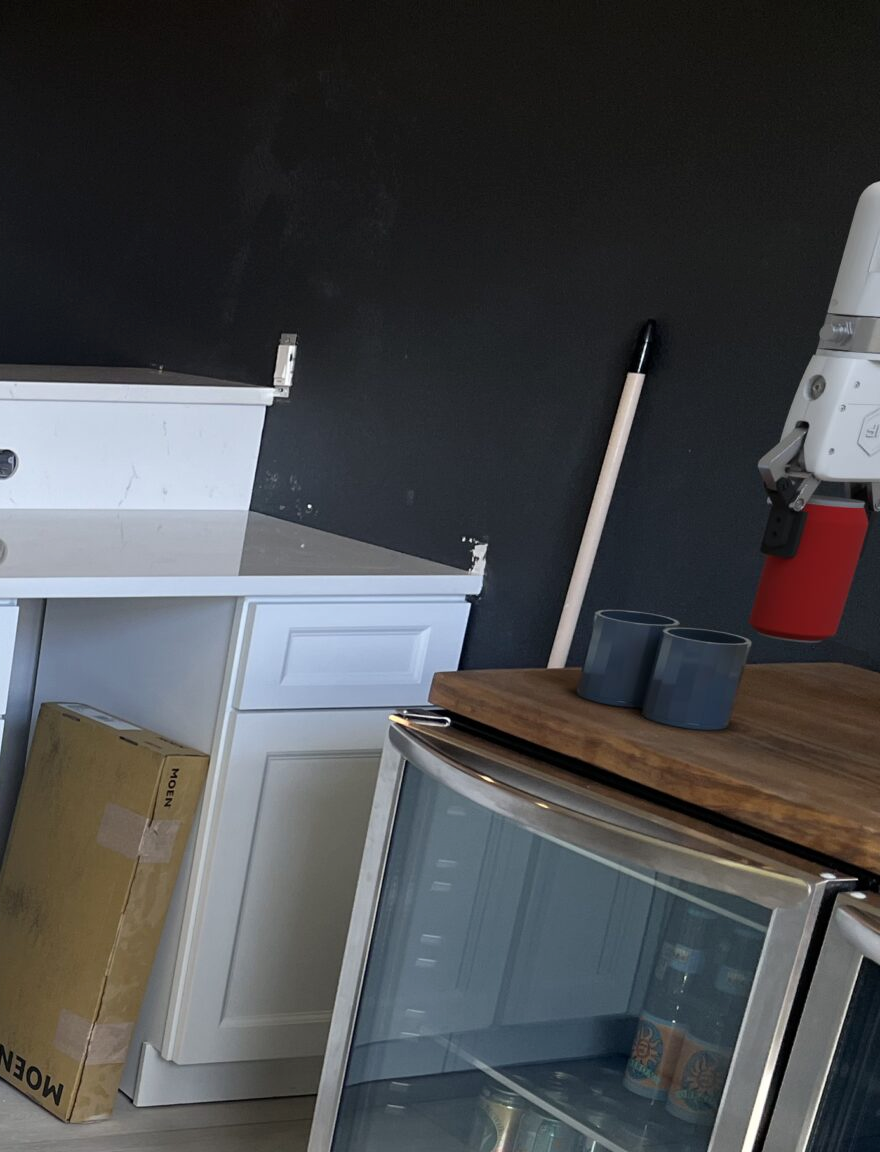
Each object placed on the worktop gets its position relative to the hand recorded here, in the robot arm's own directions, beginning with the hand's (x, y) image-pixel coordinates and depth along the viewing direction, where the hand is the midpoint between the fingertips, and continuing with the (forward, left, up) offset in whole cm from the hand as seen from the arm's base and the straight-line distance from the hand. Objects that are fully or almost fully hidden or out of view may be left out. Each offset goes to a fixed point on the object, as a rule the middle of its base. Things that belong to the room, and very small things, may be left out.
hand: (811, 553), depth 163 cm
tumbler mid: (+5, -7, -17) cm, 19 cm away
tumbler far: (+10, -13, -17) cm, 24 cm away
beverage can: (0, 0, -7) cm, 7 cm away
